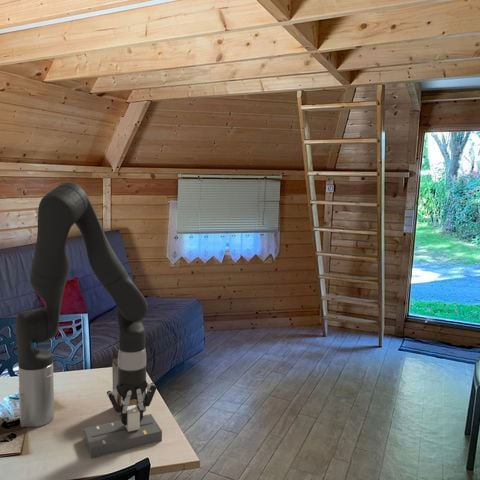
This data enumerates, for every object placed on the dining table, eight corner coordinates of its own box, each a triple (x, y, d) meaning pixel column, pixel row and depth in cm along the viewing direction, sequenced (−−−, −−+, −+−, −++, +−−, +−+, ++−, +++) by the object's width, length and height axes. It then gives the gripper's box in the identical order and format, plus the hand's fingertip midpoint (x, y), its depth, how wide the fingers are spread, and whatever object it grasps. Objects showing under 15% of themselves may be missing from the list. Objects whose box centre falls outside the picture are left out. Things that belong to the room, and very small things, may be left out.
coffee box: (140, 401, 151) (141, 354, 149) (146, 410, 145) (146, 361, 143) (112, 407, 147) (111, 358, 144) (116, 416, 141) (116, 366, 139)
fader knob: (128, 431, 127) (128, 414, 127) (124, 423, 131) (124, 407, 130) (139, 429, 129) (139, 412, 128) (135, 421, 133) (135, 404, 132)
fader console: (91, 458, 120) (91, 447, 120) (84, 438, 129) (84, 428, 129) (161, 440, 129) (162, 430, 129) (150, 423, 138) (150, 413, 138)
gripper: (109, 373, 121) (109, 435, 123) (161, 364, 127) (160, 423, 130) (102, 362, 127) (103, 421, 130) (153, 354, 134) (152, 411, 136)
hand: (131, 422), depth 130 cm, fingers closed on fader knob, 3 cm apart
